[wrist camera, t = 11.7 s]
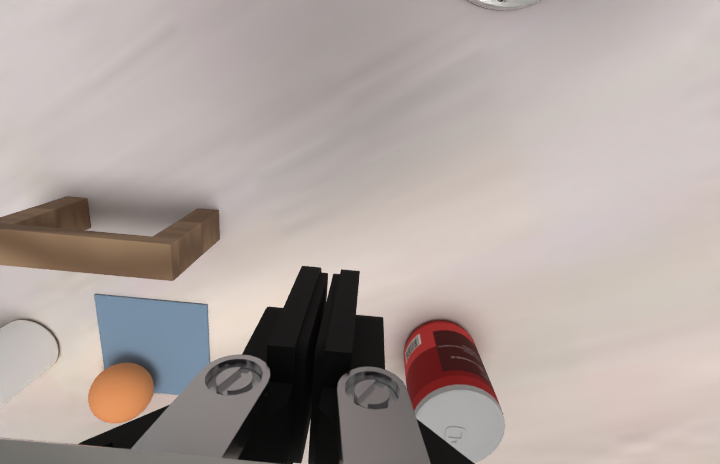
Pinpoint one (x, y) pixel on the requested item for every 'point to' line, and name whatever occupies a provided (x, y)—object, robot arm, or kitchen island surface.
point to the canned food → (453, 389)
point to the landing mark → (155, 338)
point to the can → (24, 356)
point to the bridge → (102, 242)
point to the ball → (120, 392)
